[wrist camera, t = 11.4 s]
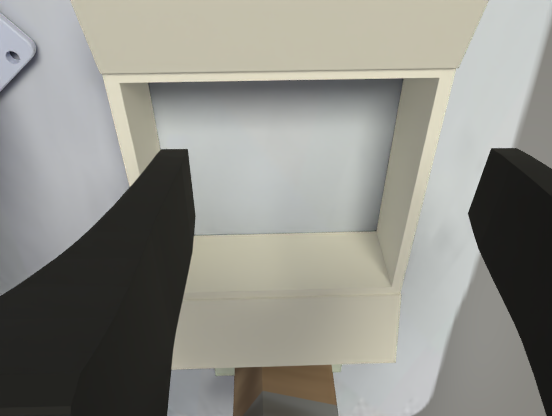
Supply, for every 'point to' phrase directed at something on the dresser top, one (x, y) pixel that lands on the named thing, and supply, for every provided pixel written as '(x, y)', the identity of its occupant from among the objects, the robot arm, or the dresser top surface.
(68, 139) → the dresser top surface
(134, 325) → the robot arm
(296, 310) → the carton
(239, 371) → the walnut block
